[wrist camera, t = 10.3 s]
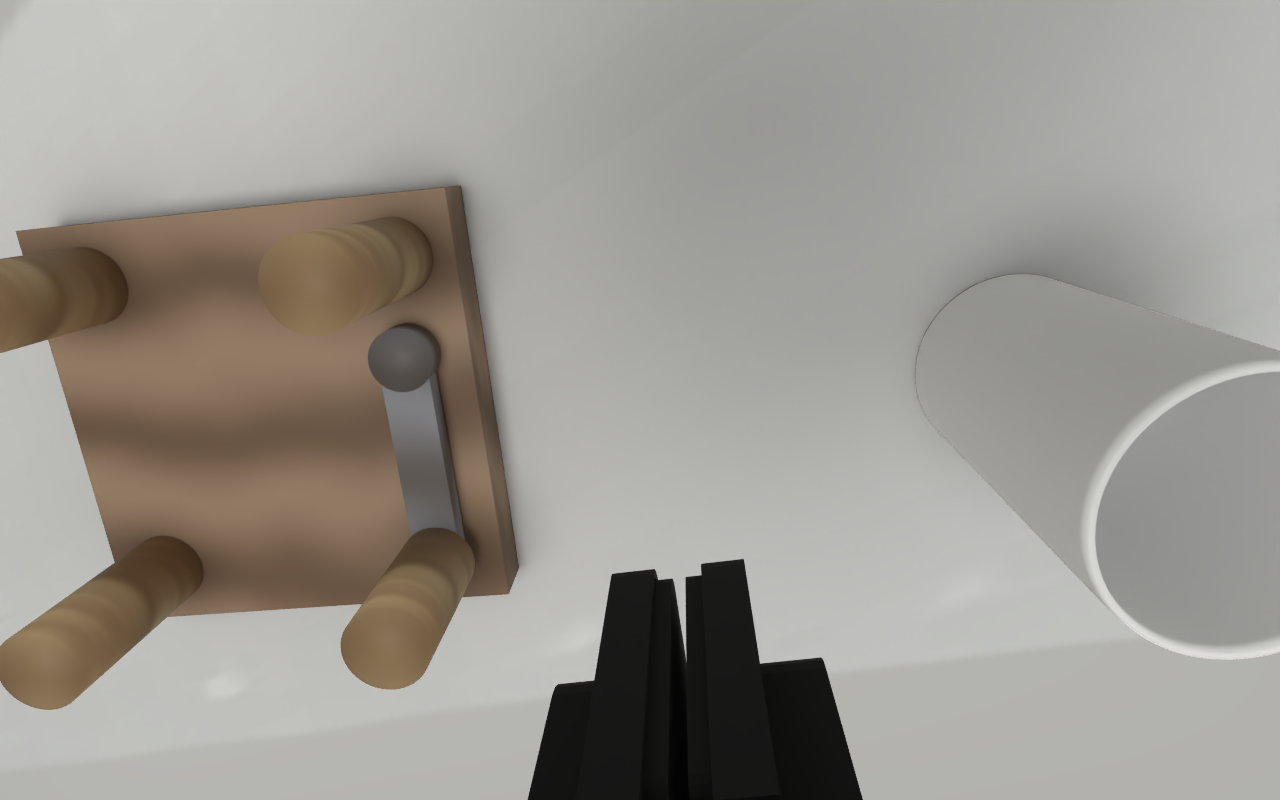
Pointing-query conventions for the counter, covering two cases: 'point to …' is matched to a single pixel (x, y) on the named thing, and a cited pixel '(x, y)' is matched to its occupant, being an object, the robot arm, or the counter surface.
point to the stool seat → (247, 410)
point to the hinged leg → (412, 523)
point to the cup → (1123, 451)
